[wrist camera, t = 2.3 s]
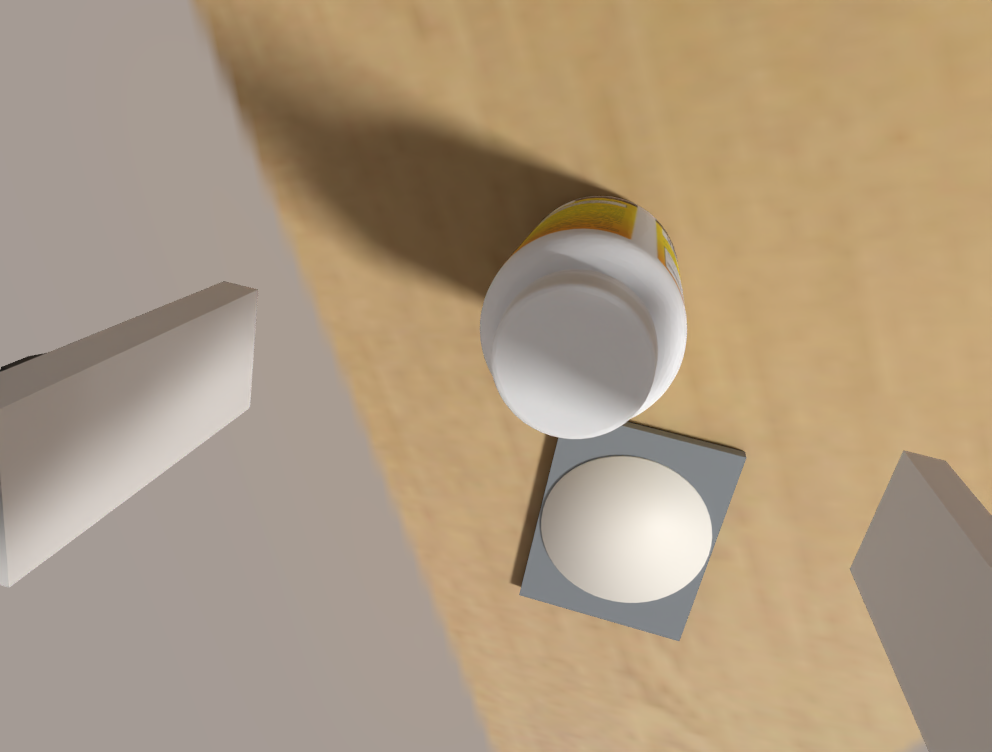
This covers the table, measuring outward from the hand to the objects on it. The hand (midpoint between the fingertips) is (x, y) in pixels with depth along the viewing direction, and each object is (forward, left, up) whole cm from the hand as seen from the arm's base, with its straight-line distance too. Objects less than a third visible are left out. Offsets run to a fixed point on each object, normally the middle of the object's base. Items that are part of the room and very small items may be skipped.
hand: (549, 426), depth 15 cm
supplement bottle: (0, 0, -13) cm, 13 cm away
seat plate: (+10, +4, -13) cm, 17 cm away
